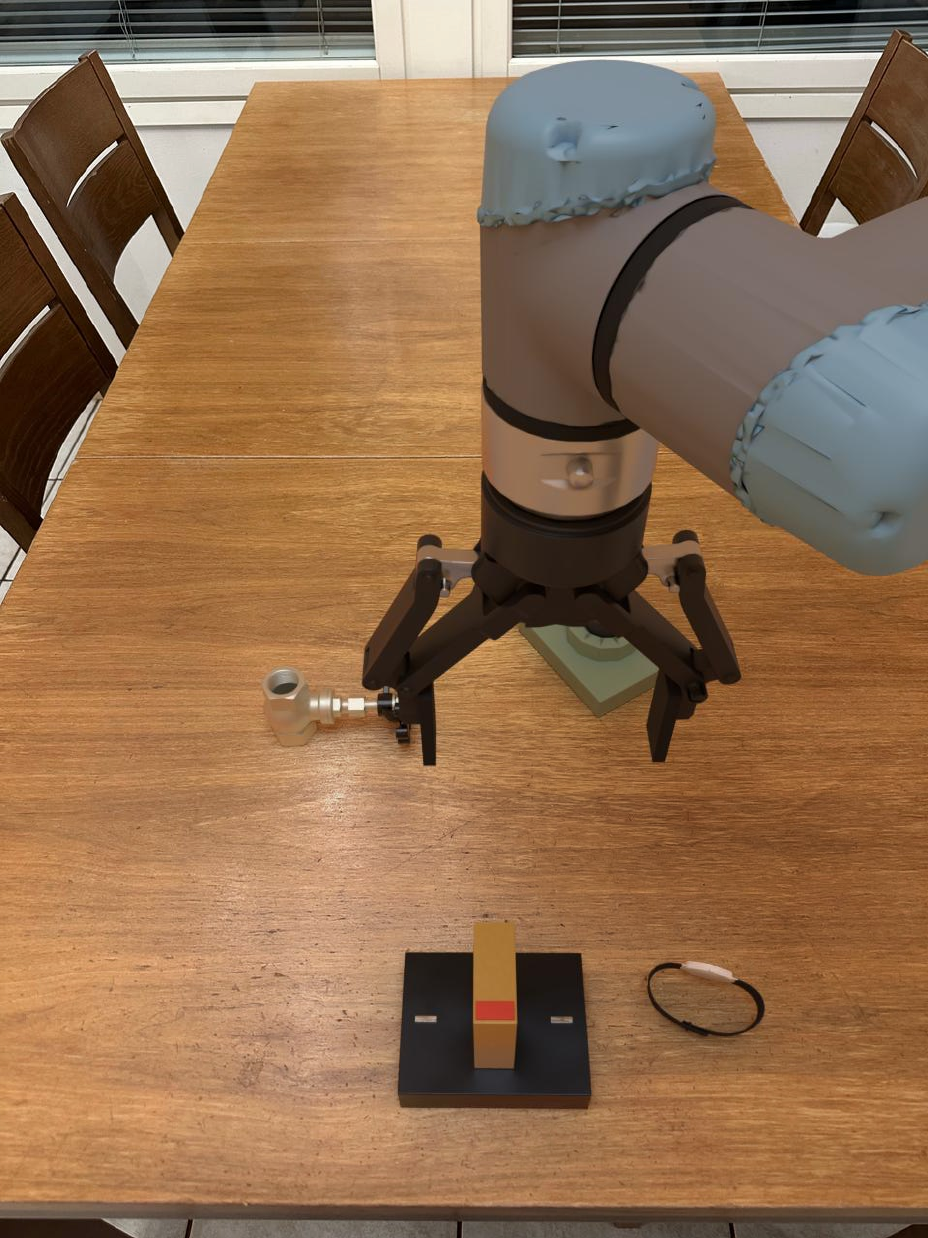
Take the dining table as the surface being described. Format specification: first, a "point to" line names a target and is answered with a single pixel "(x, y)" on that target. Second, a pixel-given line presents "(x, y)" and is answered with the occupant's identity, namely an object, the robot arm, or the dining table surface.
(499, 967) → the lock knob
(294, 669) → the valve
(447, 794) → the dining table surface
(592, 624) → the bell button
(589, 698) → the doorbell
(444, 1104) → the plate
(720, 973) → the watch
